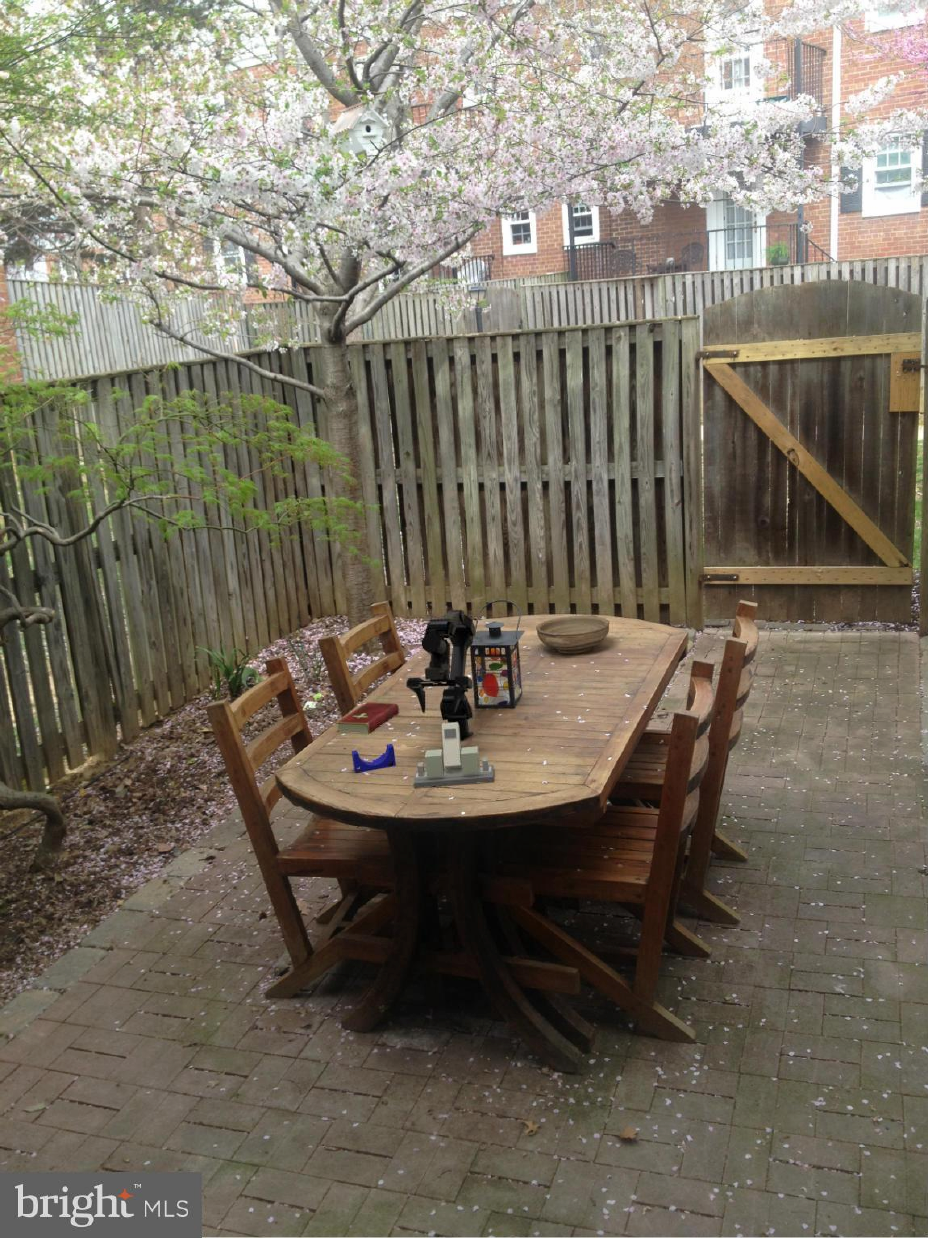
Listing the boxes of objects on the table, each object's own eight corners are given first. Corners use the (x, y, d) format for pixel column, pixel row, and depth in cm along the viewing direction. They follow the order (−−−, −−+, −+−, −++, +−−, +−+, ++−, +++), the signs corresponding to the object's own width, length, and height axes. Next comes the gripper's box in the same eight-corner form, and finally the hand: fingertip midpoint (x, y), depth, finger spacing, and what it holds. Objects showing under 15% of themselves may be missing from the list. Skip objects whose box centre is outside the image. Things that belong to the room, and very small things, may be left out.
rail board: (416, 776, 303) (413, 748, 301) (493, 769, 302) (491, 742, 300) (414, 788, 294) (410, 759, 292) (493, 781, 293) (490, 753, 291)
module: (446, 768, 299) (443, 726, 303) (462, 767, 299) (459, 725, 303) (444, 765, 294) (441, 723, 298) (460, 764, 294) (457, 721, 298)
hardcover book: (399, 714, 361) (398, 702, 360) (369, 735, 343) (367, 723, 342) (368, 712, 366) (367, 701, 365) (337, 733, 348) (335, 721, 347)
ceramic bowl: (564, 635, 442) (562, 611, 439) (627, 638, 426) (626, 614, 424) (519, 659, 412) (517, 634, 409) (586, 664, 396) (584, 638, 394)
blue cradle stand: (392, 761, 317) (390, 742, 316) (396, 766, 313) (393, 746, 311) (353, 768, 314) (350, 749, 313) (355, 773, 310) (353, 754, 309)
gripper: (401, 655, 308) (399, 708, 304) (464, 652, 304) (463, 707, 300) (412, 663, 319) (411, 715, 315) (473, 661, 314) (472, 713, 310)
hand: (438, 712), depth 310 cm, fingers open, 9 cm apart
